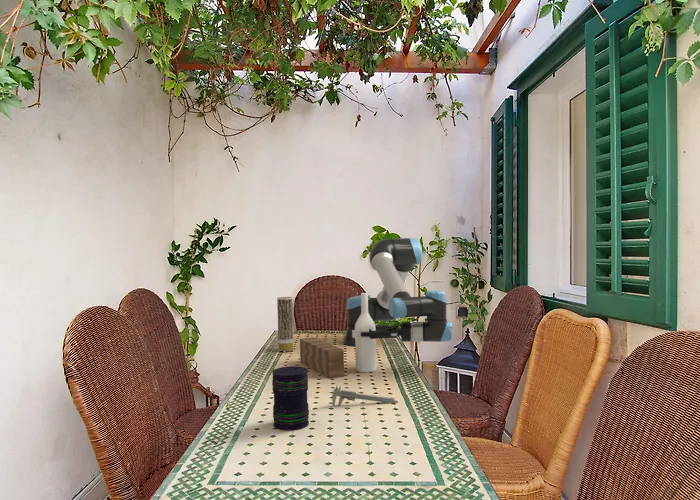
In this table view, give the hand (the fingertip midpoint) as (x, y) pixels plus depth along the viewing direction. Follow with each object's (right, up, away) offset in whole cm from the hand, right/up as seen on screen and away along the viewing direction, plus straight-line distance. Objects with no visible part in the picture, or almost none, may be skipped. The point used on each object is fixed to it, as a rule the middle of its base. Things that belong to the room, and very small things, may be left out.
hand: (354, 331), depth 205 cm
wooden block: (-13, -15, +2) cm, 20 cm away
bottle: (+5, -15, 0) cm, 16 cm away
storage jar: (-18, -16, -61) cm, 65 cm away
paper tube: (-32, -16, +40) cm, 53 cm away
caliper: (+3, -16, -44) cm, 47 cm away
